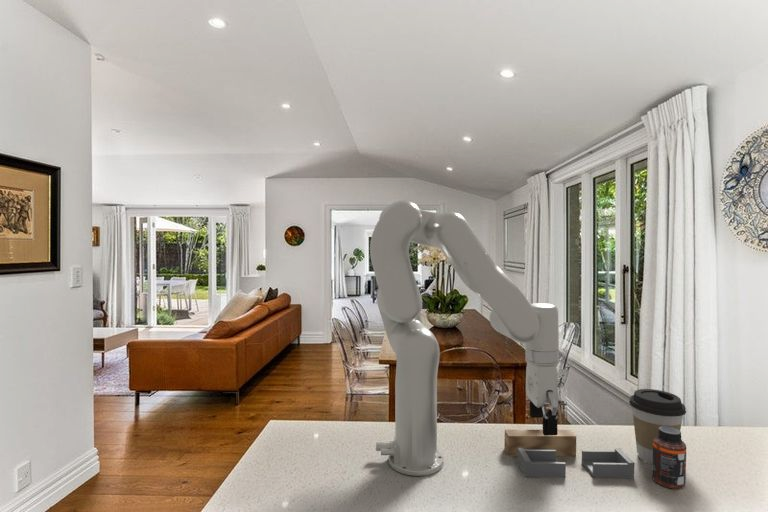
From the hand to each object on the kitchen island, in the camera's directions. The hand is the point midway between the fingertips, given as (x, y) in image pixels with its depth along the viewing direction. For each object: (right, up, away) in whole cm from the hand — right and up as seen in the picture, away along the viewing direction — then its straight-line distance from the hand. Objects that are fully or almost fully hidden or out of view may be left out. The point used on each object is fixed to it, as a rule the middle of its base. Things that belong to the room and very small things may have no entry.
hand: (543, 425), depth 107 cm
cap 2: (+11, -7, -8) cm, 16 cm away
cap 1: (-3, -7, -8) cm, 11 cm away
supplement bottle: (+22, -7, -13) cm, 26 cm away
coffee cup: (+25, -7, -3) cm, 26 cm away
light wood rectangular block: (-1, -7, 0) cm, 7 cm away
